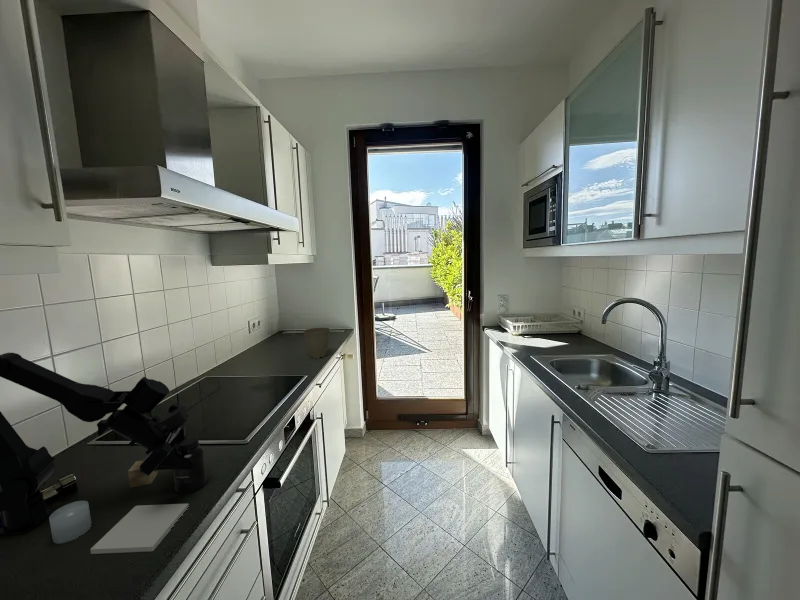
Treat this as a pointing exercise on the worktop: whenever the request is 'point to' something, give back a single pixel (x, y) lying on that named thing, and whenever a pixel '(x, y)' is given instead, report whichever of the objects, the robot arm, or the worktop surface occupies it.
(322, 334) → the plant pot
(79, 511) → the blue-grey rounded cylinder
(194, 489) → the supplement bottle
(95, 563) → the worktop surface
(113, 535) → the plate
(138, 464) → the oak block
